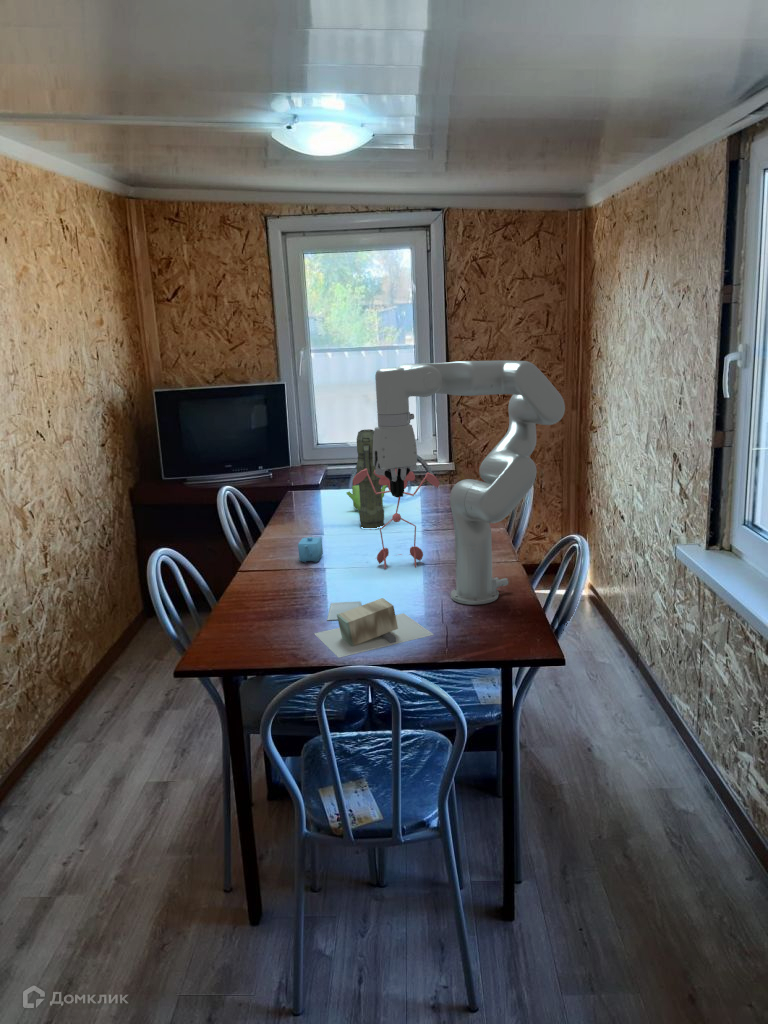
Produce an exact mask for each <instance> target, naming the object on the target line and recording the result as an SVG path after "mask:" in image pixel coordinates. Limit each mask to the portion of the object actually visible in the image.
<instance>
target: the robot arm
mask: <svg viewBox="0 0 768 1024" xmlns="http://www.w3.org/2000/svg"><path fill="white" fill-rule="evenodd" d="M375 392H376V393H375V394H376V409H377V411H376V413H377V425H378V426H377V427H376V426H375V427H374V429H373V431H374V437H373V465H374V466H375V467H376V469H375V473H376V474H378V475H385V476H386V477H387V478H388V479H389V480H390V492H389V493H390V494H391V495H392V497H394V498H397V499H398V498H399V497H400V498H402V497H404V494H403V492H405V489H404V480H405V479H406V476H407V475H408V473H409V472H411V471H412V472H413V471H416V470H417V469H418V464H417V463H418V450H417V442H416V436H415V432H414V428H413V424H410V423H411V420H414V419H415V415H414V413H411V412H410V401H409V399H410V397H420V398H422V397H423V398H425V397H426V398H427V397H432V396H433V395H435V394H441V395H443V394H444V395H451V396H457V397H458V396H464V397H465V396H467V397H472V396H473V397H474V396H490V395H491V396H492V395H512V396H511V397H510V399H509V402H508V409H507V410H508V420H509V421H508V422H509V424H508V429H507V432H506V433H505V435H503V437H502V438H501V440H499V442H498V443H497V444H496V446H494V447H493V448H492V449H491V450H490V452H488V454H487V456H486V457H484V459H483V460H482V462H481V464H480V466H479V470H478V471H479V473H478V474H479V476H480V478H481V480H477V479H472V478H471V479H470V478H467V479H462V480H459V481H458V482H457V483H455V484H454V485H453V487H452V488H451V491H450V493H449V494H450V495H449V505H450V510H451V515H452V521H453V528H454V555H455V556H454V557H455V582H456V585H455V586H456V588H454V589H453V590H451V592H450V597H451V599H452V601H454V602H456V603H459V604H463V605H471V606H472V605H473V606H475V605H485V604H490V603H492V602H495V601H496V600H497V599H498V598H499V596H500V595H499V591H498V589H499V587H504V586H508V585H509V578H507V577H504V578H499V577H497V576H496V577H493V554H492V551H493V548H492V537H493V536H492V529H491V524H497V523H500V522H501V521H503V520H504V519H506V518H507V517H508V516H509V515H510V514H511V513H512V512H513V511H514V509H515V508H516V507H517V506H518V504H519V503H520V502H521V501H522V500H523V499H524V497H525V496H526V495H527V494H528V492H529V491H530V490H531V489H532V487H533V486H534V485H535V482H536V478H537V473H538V471H537V466H536V465H537V464H536V463H535V461H534V460H533V459H532V458H531V457H530V456H531V455H532V454H533V452H534V451H535V449H536V446H537V428H536V427H537V425H542V426H543V425H544V426H552V425H555V424H558V423H559V422H560V421H561V420H562V418H563V417H564V415H565V412H566V404H565V401H564V398H563V396H562V395H561V393H560V392H559V391H558V390H557V388H556V387H555V386H554V385H553V384H552V382H551V381H550V380H549V378H548V377H547V376H546V375H545V374H544V373H543V372H542V371H541V370H540V369H539V368H538V367H537V366H536V365H535V364H534V363H533V362H531V361H527V360H504V359H503V360H498V359H497V360H465V361H464V360H462V361H460V360H458V361H450V362H433V363H430V362H428V363H426V362H425V363H403V364H400V365H399V366H397V367H396V366H395V367H382V368H379V369H377V370H376V372H375ZM395 469H397V475H396V471H395ZM482 480H483V481H482Z"/></svg>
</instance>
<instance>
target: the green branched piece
mask: <svg viewBox="0 0 768 1024" xmlns="http://www.w3.org/2000/svg"><path fill="white" fill-rule="evenodd" d="M351 488H352V489H351V490H352V491H350V490H349V491H347V492H346V495H347V496H348V497H349V498H350V499H351V500H352V504H353V505H352V506H353V507H354V508H356V510H357V509H358V510H359V511H360V492H359V484H357V485H355V486H353V485H351ZM387 488H388V485H382V486H381V492H383V491H386V489H387ZM384 496H385V493H382V508H383V509H384V505H383V504H384V503H383V498H385V497H384ZM359 511H358V512H359Z"/></svg>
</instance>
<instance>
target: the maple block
mask: <svg viewBox="0 0 768 1024" xmlns="http://www.w3.org/2000/svg"><path fill="white" fill-rule="evenodd" d="M395 615H396V611H395V607H394V605H393V604H392V603H390V602H389V601H388V600H386V599H385V598H383V597H381V598H378V599H376V600H373V601H371V602H368V603H365V604H361V606H359V607H357V608H354V609H351V610H348V611H346V612H343V613H340V614H337V618H338V621H337V622H338V628H340V631H341V636H342V638H343V639H344V640H345V641H346V642H347V643H348V644H349V645H351V646H355V645H357V644H360V643H362V642H365V641H368V640H370V639H373V638H375V637H378V636H380V635H383V634H386V633H388V632H391V631H393V630H396V629H398V626H397V621H396V616H395Z"/></svg>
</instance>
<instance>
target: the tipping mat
mask: <svg viewBox="0 0 768 1024" xmlns="http://www.w3.org/2000/svg"><path fill="white" fill-rule="evenodd" d="M395 616H396V621H397V626H398V629H396V630H393V631H391V632H388V633H386V634H383V635H380V636H378V637H375V638H373V639H370V640H368V641H365V642H362V643H360V644H357V645H355V646H351V645H349V644H348V643H347V642H346V641H345V640H344V639H343V638H342V636H341V631H340V627H336V628H333V629H329V630H323V631H319V632H314V633H313V634H314V635H315V636H316V638H318V640H320V641H321V642H322V643H323V644H324V645H325V646H326V647H327V648H328V649H329V650H330V651H331V652H332V653H333V654H334V655H335V656H337V658H339V659H340V658H344V657H347V656H352V655H353V656H354V655H356V654H361V653H365V652H368V651H369V652H370V651H373V650H377V649H381V648H385V647H389V646H393V645H394V646H395V645H399V644H401V643H406V642H410V641H413V640H419V639H423V638H426V637H430V636H434V635H435V634H434V633H432V632H431V631H430V630H428V629H427V628H425V626H422V625H421V624H419V623H418V622H417V621H416V620H414V619H412V618H411V617H410V616H409V615H407V614H406V613H404V612H403V613H399V614H395Z"/></svg>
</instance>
